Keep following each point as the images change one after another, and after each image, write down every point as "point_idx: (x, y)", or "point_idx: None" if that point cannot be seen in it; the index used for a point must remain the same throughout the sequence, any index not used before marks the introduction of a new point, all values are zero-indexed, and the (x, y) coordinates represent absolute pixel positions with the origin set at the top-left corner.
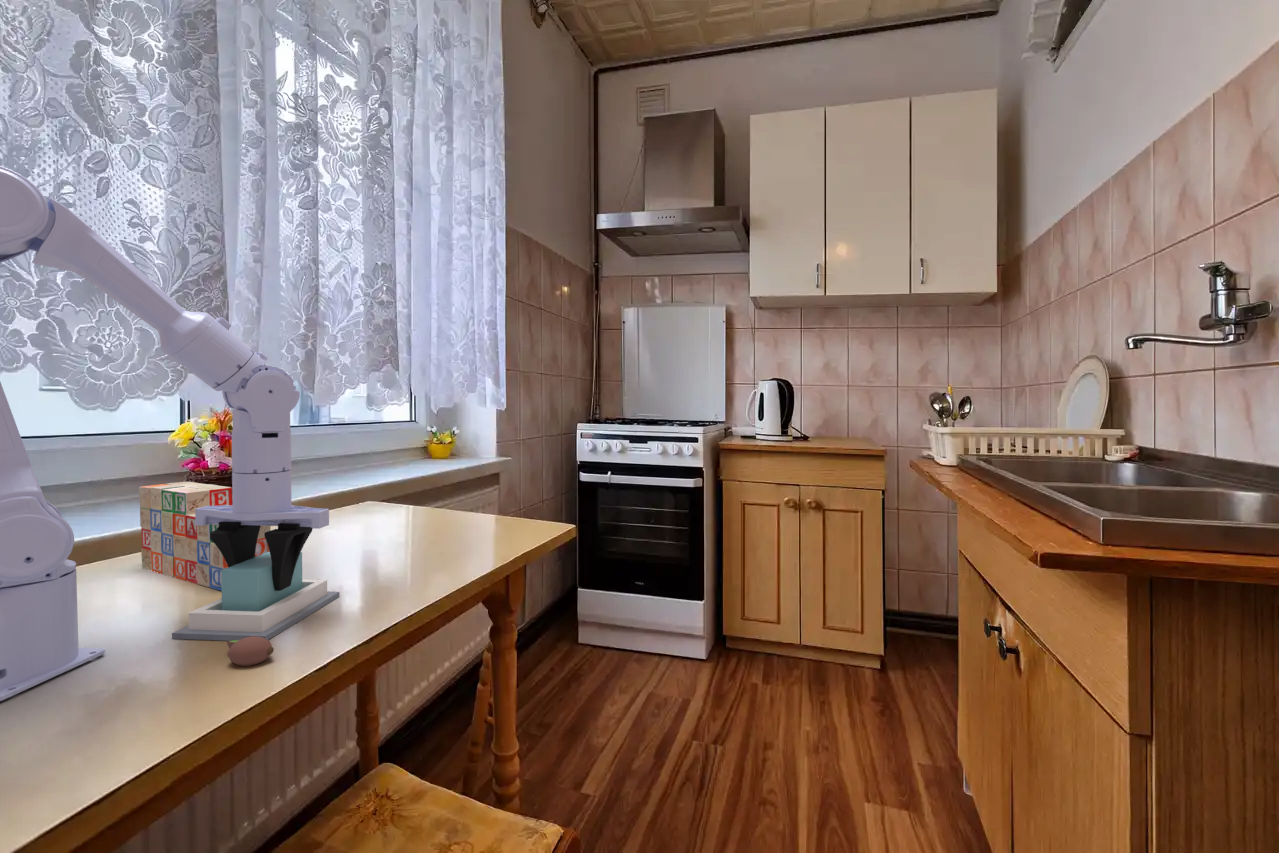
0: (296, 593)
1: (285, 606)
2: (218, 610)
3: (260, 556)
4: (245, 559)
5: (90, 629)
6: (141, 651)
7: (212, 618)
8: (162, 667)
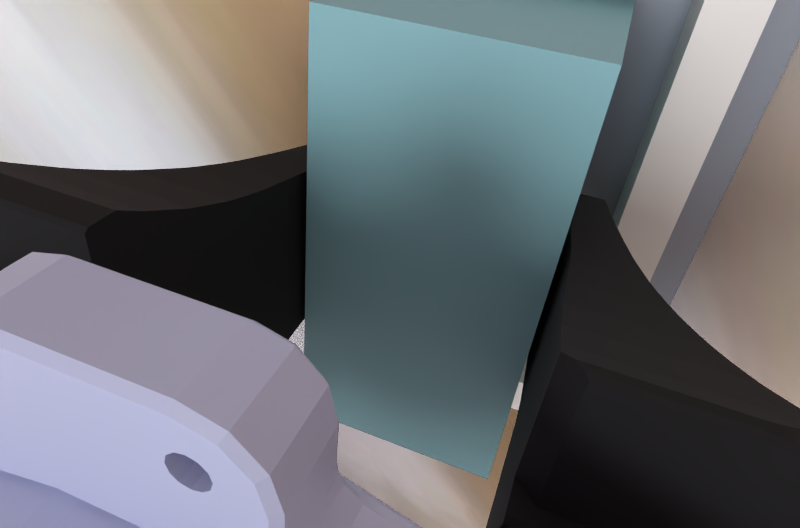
0: (647, 193)
1: None
2: None
3: (333, 176)
4: (296, 260)
5: None
6: None
7: None
8: (414, 461)
